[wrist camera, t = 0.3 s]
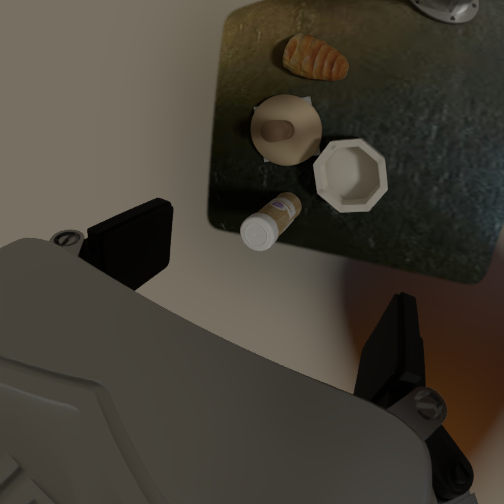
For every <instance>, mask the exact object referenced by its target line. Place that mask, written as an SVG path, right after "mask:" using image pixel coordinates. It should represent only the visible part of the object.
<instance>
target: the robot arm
mask: <svg viewBox="0 0 504 504" xmlns="http://www.w3.org/2000/svg"><path fill="white" fill-rule="evenodd" d="M409 1H410V2H411V3H412V4H413V5H414V6H415V7H416V8H417V9H418V10H420V11H421V12H422V13H424V14H425V15H427V16H429V17H430V18H432V19H435V20H437V21H439V22H443V23H447V24H454V25H456V24H464V23H467V22H469V21H470V20H472V19H473V18H474V17H475V15H476V14H477V12H478V9H479V0H409ZM416 2H418V3H419V4H418V3H416ZM472 6H473V7H472ZM451 19H452V20H451ZM172 220H173V207H172V206H171V203H170V202H169V201H167V200H164V199H161V198H156V199H153V200H151V201H148V202H146V203H143V204H141V205H139V206H137V207H134V208H132V209H130V210H127V211H125V212H123V213H121V214H118V215H116V216H114V217H112V218H110V219H107V220H105V221H103V222H101V223H99V224H97V225H94V226H92V227H90V228H88V229H87V233H88V238H86V239H84V235H83V233H81V232H80V231H77V230H64V231H60V232H58V233H56V234H55V235H53V236H52V238H51V239H50V241H45V240H42V239H36V238H23V239H19V240H17V241H14V242H12V243H10V244H8V245H6V246H4V247H2V248H0V504H478V502H477V499H476V496H475V493H473V494H470V491H469V489H470V487H471V486H472V483H473V478H474V477H473V476H474V474H473V469H472V466H471V464H470V462H469V461H468V460H467V458H466V457H465V455H464V454H463V453H462V451H461V450H460V449H459V447H458V446H457V444H456V443H455V442H454V440H453V439H452V438H451V436H450V435H449V434H448V432H447V431H446V430H445V428H444V427H443V426H442V423H443V422H444V420H445V418H446V416H447V406H446V404H445V401H444V399H443V398H442V397H441V395H440V394H439V393H438V392H437V391H435V390H433V389H432V388H429V387H426V385H425V364H424V349H423V339H422V338H421V337H420V333H419V323H418V314H417V305H416V298H415V297H413V296H411V295H408V294H406V293H404V292H401V293H400V294H399V295H398V294H395V295H394V296H393V298H392V300H391V302H390V303H389V305H388V307H387V309H386V310H385V312H384V314H383V315H382V317H381V319H380V321H379V322H378V324H377V326H376V327H375V329H374V331H373V332H372V334H371V335H370V337H369V339H368V340H367V342H366V343H365V345H364V347H363V350H362V353H361V358H360V364H359V369H358V375H357V379H356V384H355V389H354V394H350V393H348V392H346V391H343V390H341V389H338V388H336V387H333V386H331V385H329V384H326V383H324V382H321V381H318V380H316V379H313V378H311V377H309V376H306V375H304V374H301V373H299V372H296V371H294V370H292V369H289V368H287V367H284V366H282V365H280V364H278V363H275V362H273V361H271V360H269V359H266V358H264V357H262V356H260V355H258V354H255V353H253V352H251V351H249V350H247V349H244V348H242V347H240V346H238V345H236V344H234V343H232V342H230V341H227V340H226V339H224V338H221V337H219V336H217V335H215V334H213V333H211V332H209V331H207V330H205V329H203V328H201V327H199V326H198V325H195V324H193V323H192V322H190V321H188V320H186V319H184V318H182V317H180V316H178V315H177V314H175V313H172V312H171V311H169V310H167V309H165V308H164V307H162V306H160V305H158V304H156V303H155V302H153V301H151V300H149V299H147V298H146V297H144V296H142V295H141V294H139V293H137V292H135V290H136V289H138V288H139V287H140V286H142V285H143V284H144V283H146V282H147V281H149V280H150V279H151V278H152V277H154V276H155V275H157V274H158V273H159V272H161V271H162V270H163V269H165V268H166V267H167V266H168V264H169V260H170V245H171V232H172Z"/></svg>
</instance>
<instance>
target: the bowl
mask: <svg viewBox="0 0 504 504" xmlns="http://www.w3.org/2000/svg"><path fill="white" fill-rule="evenodd" d="M313 168H314V174H315V181H316V188H317V194H319V195H320V196H321V197H322V198H323V199H325V200H326V201H327V202H328V203H329V204H331V205H332V206H333V207H334V208H335V209H337V210H338V211H339V212H360V211H369V210H370V209H371V208H372V207H373V206H374V205H375V204H376V202H377V201H378V200H379V199H380V198H381V197H382V196H383V194H384V193H385V192H386V191H387V190H388V187H387V176H386V166H385V158H384V156H383V155H382V154H381V153H379V152H378V151H377V150H376V149H375V148H374V147H373V146H371V145H370V144H369V143H368V142H366V141H365V140H364V139H363V138H352V139H341V140H333V141H331V142H330V143H329V144H328V145H327V147H326V148H325V149H324V151H323V152H322V153H321V155H320V156H319V157H318V159H317V160H316V161H315V163H314V164H313Z"/></svg>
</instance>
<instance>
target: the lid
mask: <svg viewBox="0 0 504 504" xmlns="http://www.w3.org/2000/svg"><path fill="white" fill-rule="evenodd" d="M251 136H252V140H253V143H254V145H255V147H256V148H257V150H258V151H259V152H260V154H261V155H262V156H264V157H265V158H266V159H268V160H269V161H271V162H273V163H276V164H279V165H296V164H299V163H301V162H303V161H305V160H307V159H308V158H310V157H311V156H312V155H313V154H314V153H315V152H316V150H317V148H318V147H319V145H320V142H321V138H322V124H321V120H320V117H319V115H318V113H317V112H316V110H315V109H314V108H313V106H312V105H311V104H309V103H308V102H307V101H305V100H304V99H302V98H299V97H297V96H293V95H277V96H273V97H271V98H269V99H267V100H265V101H264V102H263V103H262V104H261V105H260V106H259V107H258V108H257V109H256V111H255V113H254V115H253V118H252V121H251Z"/></svg>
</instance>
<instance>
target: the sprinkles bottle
mask: <svg viewBox="0 0 504 504" xmlns="http://www.w3.org/2000/svg"><path fill="white" fill-rule="evenodd" d="M300 211H301V203H300V200H299V198H298V197H297V196H295V195H294V194H293V193H291V192H284V193H281V194H279V195H278V196H277V197H276V198H275V199H273V200H272V201H271V202H269V203H268V204H266V205H265V206H264V207H263V208H262V209H261V210H259V211H258V212H257V213H255V214H252V215H251V216H249V217H248V218H247V219H246V220H245V221H244V222H243V223H242V225H241V229H240V234H241V238H242V240H243V242H244V243H245V244H246V245H247V246H248V247H249V248H251V249H253V250H256V251H264V250H266V249H268V248H270V247H271V246H272V245H273V244H274V243H275V241H276V240H277V238H278V236H279V235H280V234H281V233H282V232H283V231H284V230H285V229H286V228H287V227H288V226H289V225H290V223H291V222H292V221H293V220H294V218H295V217H297V216H298V215H299V213H300Z"/></svg>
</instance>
